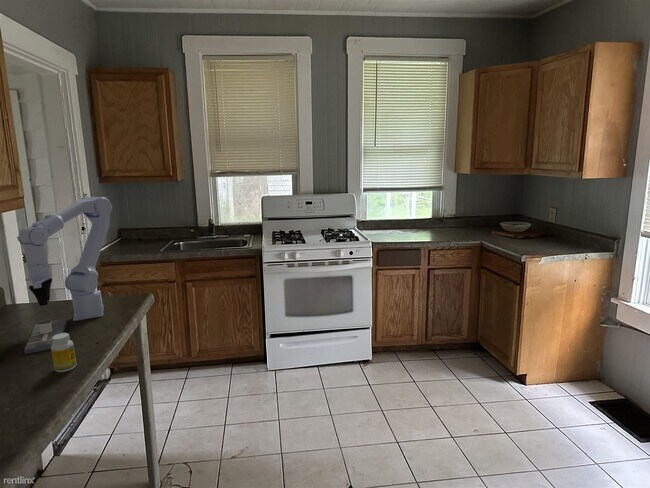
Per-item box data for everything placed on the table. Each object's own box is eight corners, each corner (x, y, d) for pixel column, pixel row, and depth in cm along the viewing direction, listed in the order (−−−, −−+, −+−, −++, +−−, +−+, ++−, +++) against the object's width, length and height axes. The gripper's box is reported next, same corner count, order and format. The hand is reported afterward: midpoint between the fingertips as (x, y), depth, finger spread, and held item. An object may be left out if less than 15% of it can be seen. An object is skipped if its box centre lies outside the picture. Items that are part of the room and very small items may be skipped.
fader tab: (53, 329, 144) (51, 318, 143) (52, 332, 141) (50, 320, 140) (41, 331, 142) (38, 320, 141) (39, 334, 140) (37, 322, 139)
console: (66, 322, 154) (65, 315, 153) (59, 347, 134) (58, 339, 134) (36, 327, 150) (35, 320, 149) (25, 354, 131) (23, 345, 130)
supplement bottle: (55, 366, 123) (50, 334, 120) (77, 361, 125) (72, 330, 123) (53, 374, 118) (47, 341, 116) (76, 369, 120) (71, 337, 118)
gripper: (26, 260, 147) (33, 298, 150) (18, 270, 134) (26, 312, 137) (51, 257, 150) (57, 295, 153) (45, 267, 137) (52, 308, 140)
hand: (44, 303), depth 145 cm, fingers open, 4 cm apart
